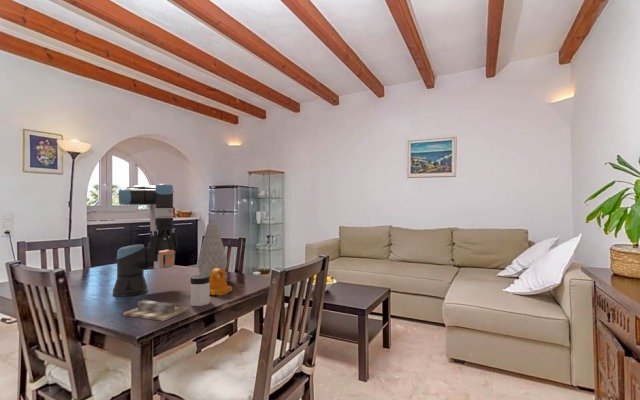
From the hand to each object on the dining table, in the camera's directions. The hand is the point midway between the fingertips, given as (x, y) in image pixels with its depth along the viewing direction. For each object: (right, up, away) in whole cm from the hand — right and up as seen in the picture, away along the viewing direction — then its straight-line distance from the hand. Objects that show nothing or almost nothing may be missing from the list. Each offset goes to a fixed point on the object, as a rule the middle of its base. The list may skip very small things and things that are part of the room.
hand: (164, 266), depth 153 cm
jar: (+19, -16, -5) cm, 25 cm away
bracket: (+22, -16, +11) cm, 29 cm away
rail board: (+5, -15, -18) cm, 24 cm away
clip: (0, 0, 0) cm, 0 cm away
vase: (+11, -16, +35) cm, 40 cm away
